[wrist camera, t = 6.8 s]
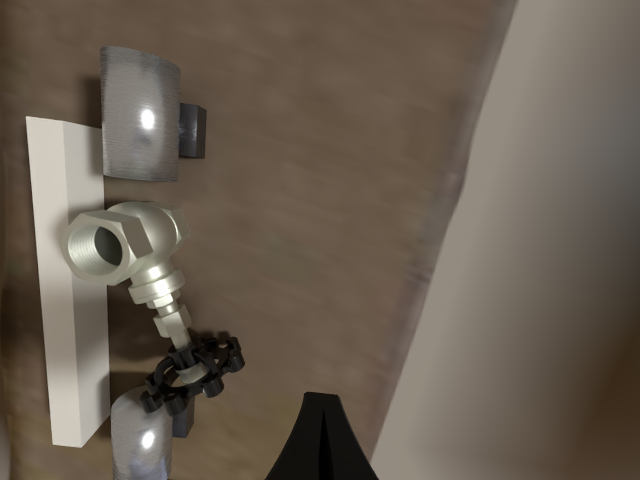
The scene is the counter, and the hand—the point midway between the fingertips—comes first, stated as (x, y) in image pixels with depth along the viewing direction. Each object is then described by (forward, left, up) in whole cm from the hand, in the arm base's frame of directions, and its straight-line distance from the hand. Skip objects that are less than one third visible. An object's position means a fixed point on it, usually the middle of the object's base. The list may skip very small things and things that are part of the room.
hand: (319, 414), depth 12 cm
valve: (+1, +10, -11) cm, 15 cm away
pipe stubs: (0, +11, -10) cm, 15 cm away
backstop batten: (-1, +17, -10) cm, 20 cm away
